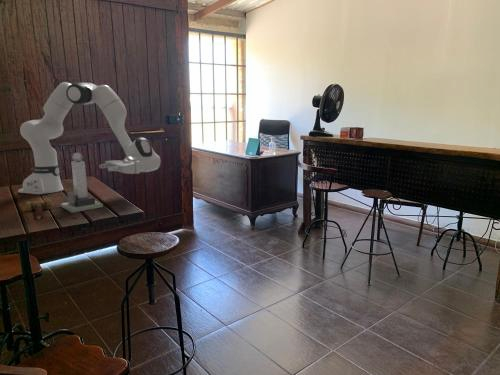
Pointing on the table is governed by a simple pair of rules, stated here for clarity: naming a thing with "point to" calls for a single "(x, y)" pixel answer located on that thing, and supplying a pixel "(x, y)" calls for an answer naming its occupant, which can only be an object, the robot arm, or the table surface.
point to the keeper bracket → (80, 203)
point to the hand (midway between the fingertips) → (104, 167)
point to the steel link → (79, 176)
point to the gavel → (38, 207)
